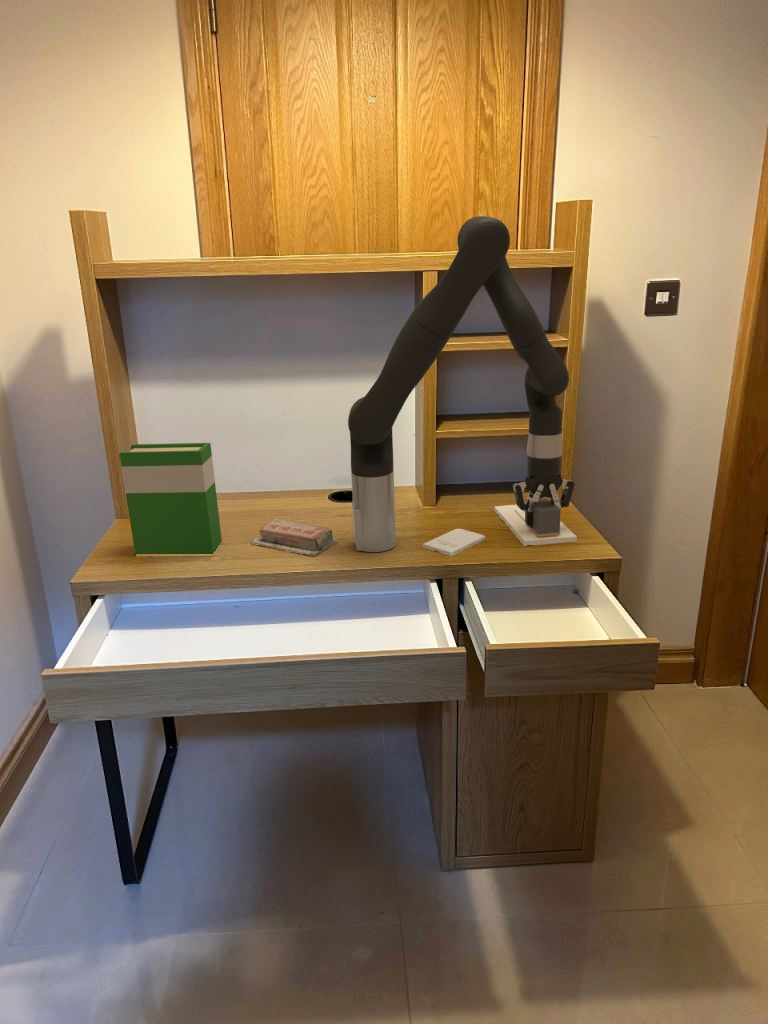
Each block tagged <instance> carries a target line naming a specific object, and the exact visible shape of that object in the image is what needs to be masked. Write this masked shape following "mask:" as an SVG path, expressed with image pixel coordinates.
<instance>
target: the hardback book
mask: <svg viewBox="0 0 768 1024" xmlns="http://www.w3.org/2000/svg"><path fill="white" fill-rule="evenodd" d="M130 449H131V450H129V451H120V452H119V461H120V466H121V472H122V479H123V485H124V486H123V487H124V491H125V498H126V504H127V511H128V516H129V517H128V518H129V522H130V530H131V536H132V541H133V548H134V555H135V554H213V553H214V552H215V551H216V549H217V548H218V546H219V545H220V543H221V542H222V543H223V539H222V530H221V522H220V513H219V505H218V504H219V503H218V496H217V488H216V480H215V478H216V477H215V472H214V471H215V469H214V463H213V453H212V445H211V442H186V443H184V442H183V443H182V442H181V443H177V442H176V443H175V442H174V443H141V444H140V443H139V444H137V443H136V444H135V443H134V444H130Z"/></svg>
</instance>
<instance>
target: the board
mask: <svg viewBox="0 0 768 1024" xmlns="http://www.w3.org/2000/svg"><path fill="white" fill-rule="evenodd" d="M493 508H494V509H493V510H494V513H496V515H497V514H498V515H499V516H498V515H497V516H498V517H499V518H500V519H501V521H502V520H503V521H504V522H505V523H504V522H503V521H502V522H503V523H504V524H505V526H506V527H509V528H508V529H509V530H510V532H512V533H513V535H514V534H515V535H514V536H515V537H516V538H517V540H520V541H519V542H520V543H521V544H522V545H523V547H528V546H527V545H532V546H541V545H553V544H564V543H575V542H576V543H577V542H578V541H577V539H578V536H577V535H576V534H575V533H574V532H573V531H571V529H570V528H568V527H567V526H566V525H565V524H564V523H563V521H561V520H560V535H555V536H543V537H538V536H537V535H536V534H535V533H534V532H533V531H532V530H531V529H529V528H528V527H527V526H526V525H525V510H521V509H520V508H519V507H518V506H517V504H509V505H508V504H507V505H497V506H496V505H495V506H493Z"/></svg>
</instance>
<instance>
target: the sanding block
mask: <svg viewBox="0 0 768 1024" xmlns="http://www.w3.org/2000/svg"><path fill="white" fill-rule="evenodd" d="M526 502H527V499H525V503H526ZM561 509H562V508H561ZM561 509H560V508H558V507H557V506H556V505H554V504H553V503H552V502H551V500H550V498H548V497H543V498H539V499H538V501H537V503H536V504H535V507H534V509H533V511H532V512H533V527H532V528H530V527H529V526H528V525H527V524H526V523H525V525H526V526H527V527H528V528H529V529H531V530H532V531H533V532H534V533H535V534H536V535H537V536H538V537H543V536H555V535H560V521H561Z"/></svg>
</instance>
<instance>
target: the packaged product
mask: <svg viewBox="0 0 768 1024" xmlns="http://www.w3.org/2000/svg"><path fill="white" fill-rule="evenodd" d="M332 529H333V528H329V527H325V526H324V527H323V526H319V525H314V524H307V523H304V522H296V521H293V520H292V521H291V520H286V519H280V518H271V519H270V520H268V521H267V522H266V523H265V524H264V525H263V526H262V527H261V528H260V529H259V534H260V536H258V537H256V538H254V539H253V540H250V544H251V543H254V544H259V545H262V546H261V547H264V546H268V547H273V548H278V549H282V550H287V551H291V552H296V553H295V554H297V553H300V554H299V555H302V554H306V555H305V556H307V555H311V556H310V557H312V556H315V555H317V554H318V555H320V554H322V553H323V552H325V551H327V550H328V549H330V548H332V547H333V546H335V545H337V544H339V541H338V537H334V536H333V530H332ZM334 544H335V545H334ZM331 546H332V547H331ZM329 547H330V548H329ZM327 548H328V549H327ZM326 549H327V550H326ZM282 550H281V551H282ZM324 550H325V551H324ZM291 552H290V553H291ZM321 552H322V553H321ZM319 553H320V554H319ZM318 555H317V556H318ZM315 557H316V556H315Z"/></svg>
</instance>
